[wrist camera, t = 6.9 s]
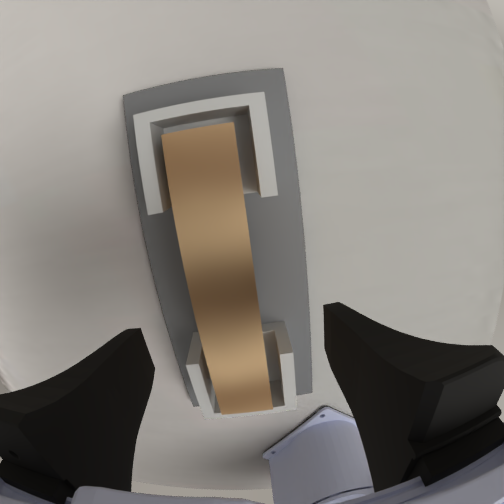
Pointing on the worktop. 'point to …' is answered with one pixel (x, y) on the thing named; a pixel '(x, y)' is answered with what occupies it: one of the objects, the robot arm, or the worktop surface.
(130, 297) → the worktop surface
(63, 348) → the worktop surface
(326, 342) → the robot arm
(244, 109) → the bracket board
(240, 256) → the rail
